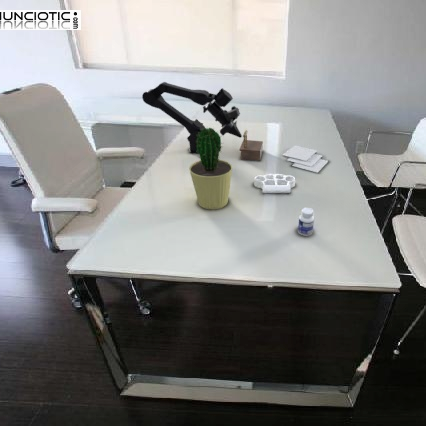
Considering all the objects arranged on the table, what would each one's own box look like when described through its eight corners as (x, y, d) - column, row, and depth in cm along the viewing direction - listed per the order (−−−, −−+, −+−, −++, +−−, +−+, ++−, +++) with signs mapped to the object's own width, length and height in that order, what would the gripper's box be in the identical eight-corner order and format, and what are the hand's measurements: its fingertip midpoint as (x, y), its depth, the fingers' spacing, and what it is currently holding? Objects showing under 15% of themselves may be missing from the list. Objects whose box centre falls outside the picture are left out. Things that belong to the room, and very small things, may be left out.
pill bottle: (296, 227, 113) (299, 206, 108) (311, 227, 114) (314, 206, 109) (298, 236, 109) (300, 214, 104) (313, 236, 109) (316, 215, 104)
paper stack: (333, 155, 172) (333, 154, 171) (317, 172, 152) (317, 171, 152) (294, 146, 179) (294, 145, 179) (274, 161, 160) (274, 160, 159)
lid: (239, 150, 156) (239, 136, 153) (243, 141, 168) (243, 127, 164) (260, 152, 157) (260, 138, 153) (262, 142, 168) (263, 129, 164)
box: (241, 159, 159) (240, 150, 157) (244, 149, 170) (244, 141, 168) (259, 161, 159) (260, 152, 157) (262, 150, 171) (262, 142, 168)
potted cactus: (214, 217, 115) (208, 137, 98) (184, 203, 121) (174, 126, 105) (241, 200, 126) (240, 126, 109) (212, 188, 132) (207, 117, 116)
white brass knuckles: (255, 195, 130) (253, 178, 142) (297, 194, 133) (292, 179, 145) (255, 188, 128) (253, 172, 140) (298, 187, 131) (293, 172, 143)
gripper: (225, 107, 143) (249, 132, 149) (233, 97, 158) (254, 121, 164) (209, 123, 147) (233, 147, 153) (218, 112, 162) (239, 134, 169)
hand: (241, 136), depth 160 cm, fingers closed
